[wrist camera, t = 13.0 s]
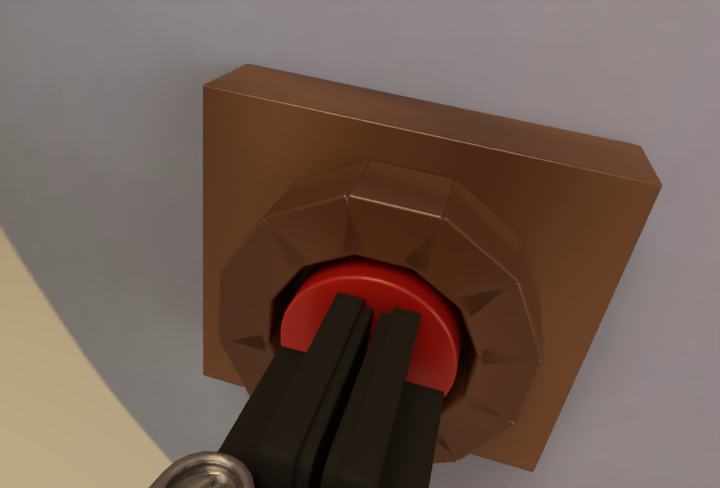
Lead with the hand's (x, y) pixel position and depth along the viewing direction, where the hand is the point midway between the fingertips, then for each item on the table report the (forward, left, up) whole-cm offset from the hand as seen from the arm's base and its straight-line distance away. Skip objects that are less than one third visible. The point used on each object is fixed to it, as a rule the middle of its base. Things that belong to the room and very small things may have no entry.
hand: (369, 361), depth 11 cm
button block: (0, 0, -4) cm, 4 cm away
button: (0, 0, -2) cm, 2 cm away
